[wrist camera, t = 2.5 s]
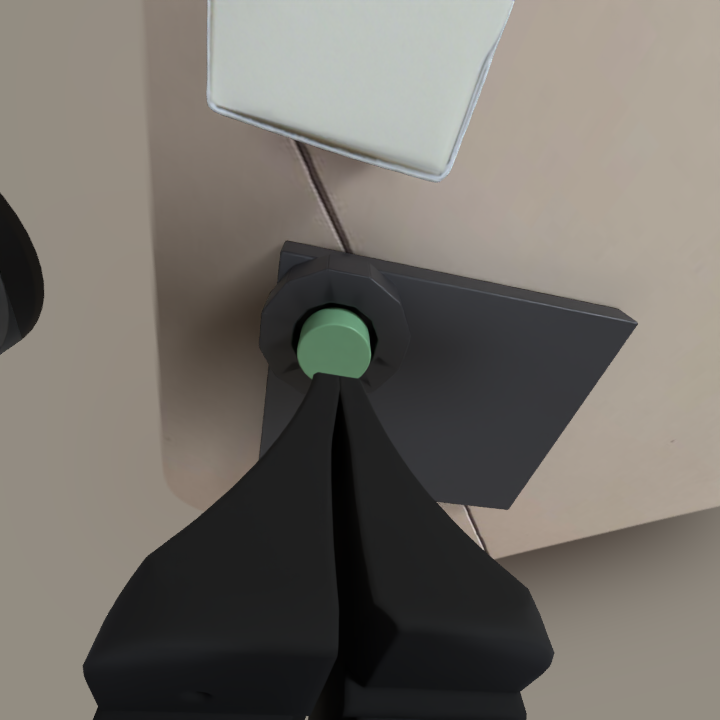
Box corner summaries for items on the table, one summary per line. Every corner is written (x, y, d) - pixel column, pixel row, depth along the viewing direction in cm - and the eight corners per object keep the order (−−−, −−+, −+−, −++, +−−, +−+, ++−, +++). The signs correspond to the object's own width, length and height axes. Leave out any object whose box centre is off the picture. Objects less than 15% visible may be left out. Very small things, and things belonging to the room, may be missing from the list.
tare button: (296, 360, 15) (292, 380, 14) (305, 300, 13) (301, 317, 12) (360, 370, 15) (362, 391, 14) (376, 313, 14) (378, 331, 13)
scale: (257, 461, 22) (245, 506, 19) (279, 231, 15) (266, 256, 12) (500, 491, 24) (518, 535, 21) (622, 303, 17) (671, 337, 14)
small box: (302, -110, 10) (212, -567, 3) (454, -47, 11) (633, -316, 4) (275, 113, 12) (195, 113, 6) (398, 151, 13) (449, 189, 7)
